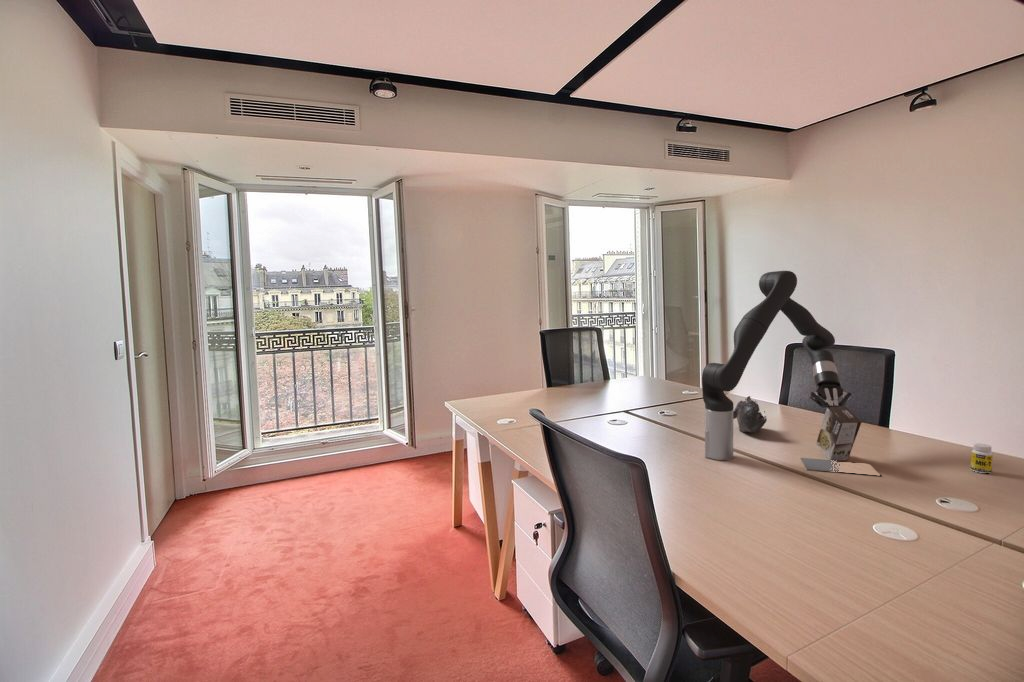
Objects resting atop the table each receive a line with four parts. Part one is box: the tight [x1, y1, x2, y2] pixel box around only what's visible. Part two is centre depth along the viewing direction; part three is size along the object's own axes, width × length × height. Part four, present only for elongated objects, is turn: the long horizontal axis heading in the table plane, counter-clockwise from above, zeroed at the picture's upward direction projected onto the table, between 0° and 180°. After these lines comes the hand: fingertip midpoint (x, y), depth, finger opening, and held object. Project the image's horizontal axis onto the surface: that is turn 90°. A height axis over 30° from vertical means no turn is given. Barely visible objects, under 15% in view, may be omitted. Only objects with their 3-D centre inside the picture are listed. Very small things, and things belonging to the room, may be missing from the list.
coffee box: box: [815, 405, 862, 461], centre depth 166 cm, size 9×6×16 cm
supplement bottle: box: [969, 442, 993, 474], centre depth 151 cm, size 5×5×8 cm
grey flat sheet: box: [800, 457, 840, 472], centre depth 160 cm, size 20×12×1 cm, turn 68°
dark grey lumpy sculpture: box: [733, 395, 768, 434], centre depth 200 cm, size 14×15×20 cm
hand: (835, 416), depth 168 cm, fingers closed
